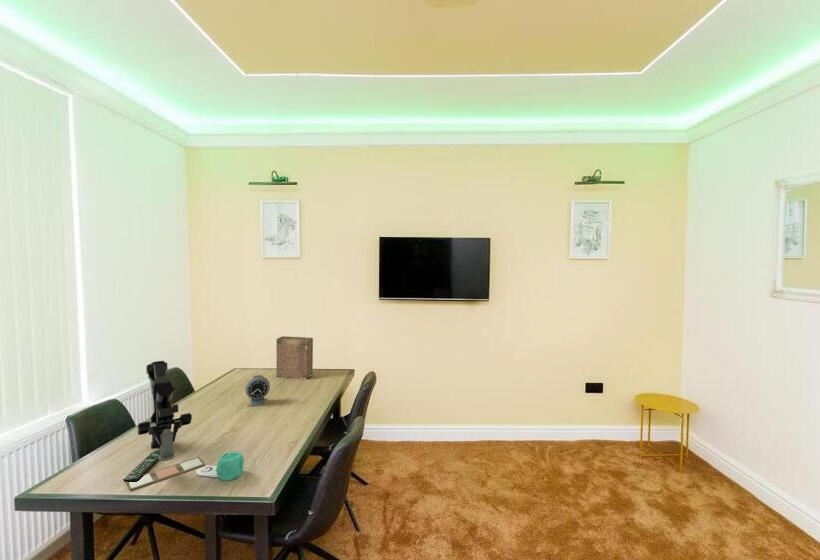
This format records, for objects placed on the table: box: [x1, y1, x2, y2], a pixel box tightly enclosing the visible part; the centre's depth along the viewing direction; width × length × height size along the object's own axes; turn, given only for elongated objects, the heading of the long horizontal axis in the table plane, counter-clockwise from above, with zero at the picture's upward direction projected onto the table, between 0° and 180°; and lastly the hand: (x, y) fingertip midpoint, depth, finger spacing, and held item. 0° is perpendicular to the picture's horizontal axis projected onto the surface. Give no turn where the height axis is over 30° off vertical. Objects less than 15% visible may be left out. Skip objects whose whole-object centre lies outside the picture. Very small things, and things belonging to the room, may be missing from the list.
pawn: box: [158, 429, 176, 462], centre depth 154 cm, size 6×6×12 cm
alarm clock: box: [244, 374, 271, 408], centre depth 232 cm, size 14×10×18 cm
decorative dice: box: [215, 451, 245, 482], centre depth 154 cm, size 8×8×8 cm
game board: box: [125, 456, 206, 492], centre depth 154 cm, size 9×26×1 cm, turn 136°
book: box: [276, 335, 314, 380], centre depth 287 cm, size 25×9×30 cm, turn 81°
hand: (167, 443), depth 153 cm, fingers closed on pawn, 4 cm apart
